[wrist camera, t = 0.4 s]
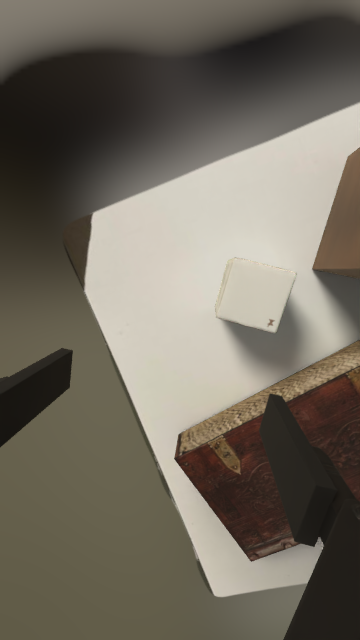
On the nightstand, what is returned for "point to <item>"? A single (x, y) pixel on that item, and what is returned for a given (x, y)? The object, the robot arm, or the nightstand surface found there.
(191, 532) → the nightstand surface
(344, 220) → the riser
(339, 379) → the hardback book
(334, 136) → the nightstand surface
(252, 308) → the product box
